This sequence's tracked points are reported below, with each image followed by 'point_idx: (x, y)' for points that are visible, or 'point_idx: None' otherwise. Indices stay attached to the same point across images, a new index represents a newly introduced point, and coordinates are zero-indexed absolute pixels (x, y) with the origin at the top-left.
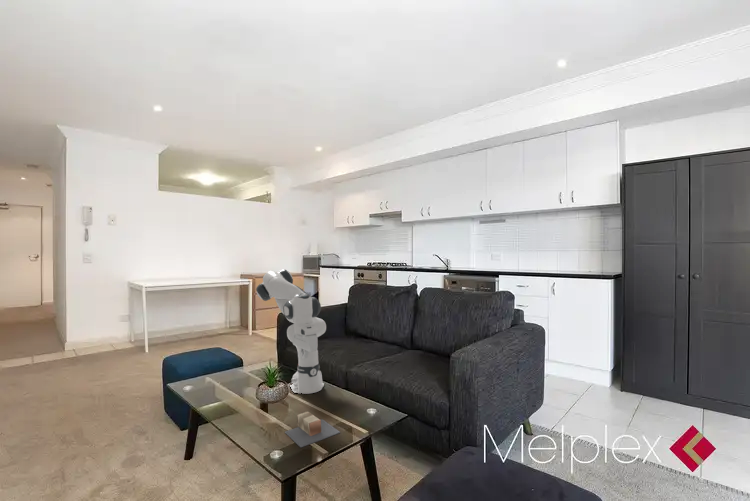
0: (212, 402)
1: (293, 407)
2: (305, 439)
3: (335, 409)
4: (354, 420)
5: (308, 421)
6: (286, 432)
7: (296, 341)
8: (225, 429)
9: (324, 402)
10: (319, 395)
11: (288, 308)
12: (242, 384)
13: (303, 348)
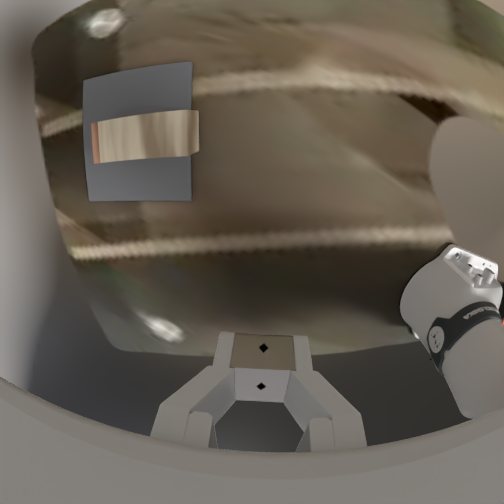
0: None
1: (368, 180)
2: (105, 101)
3: (238, 273)
4: (135, 269)
5: (108, 124)
6: (182, 64)
7: (482, 497)
8: None
9: (316, 277)
10: (376, 293)
11: None
12: None
13: (128, 444)
